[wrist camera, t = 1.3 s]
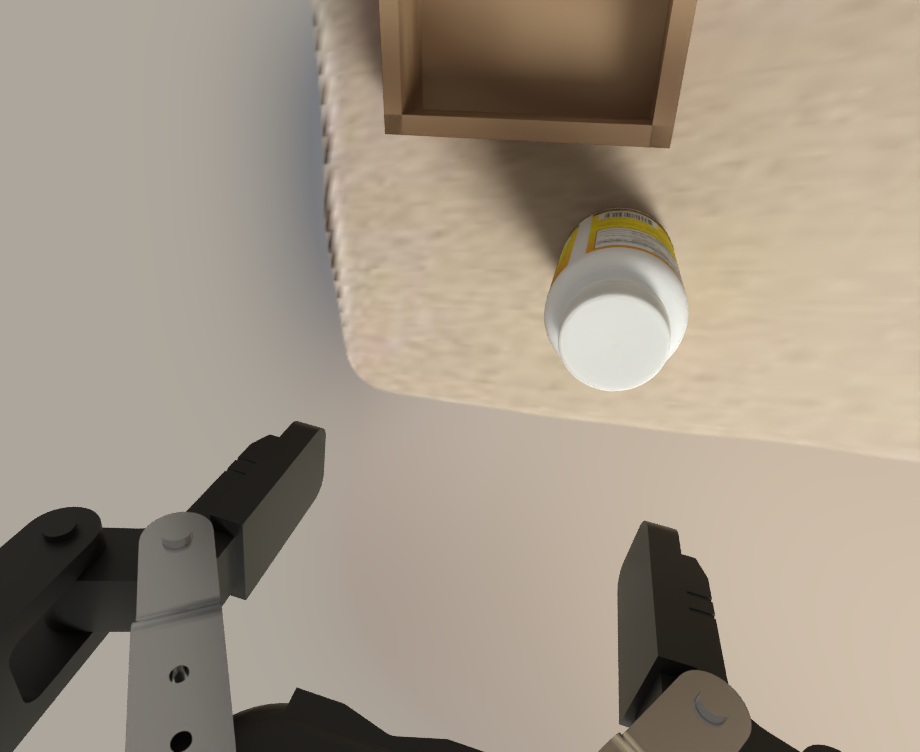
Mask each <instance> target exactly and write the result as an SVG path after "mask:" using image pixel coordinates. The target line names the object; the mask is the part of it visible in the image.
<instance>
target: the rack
mask: <svg viewBox="0 0 920 752" xmlns="http://www.w3.org/2000/svg"><path fill="white" fill-rule="evenodd" d="M696 4H697V0H379V13H380V35H381V57H382V79H383V101H384V123H385V134H396V135H416V136H436V137H456V138H476V139H496V140H516V141H536V142H556V143H575V144H595V145H615V146H635V147H655V148H670V144H671V138H672V133H673V127H674V122H675V117H676V111H677V106H678V100H679V95H680V90H681V84H682V79H683V74H684V68H685V63H686V57H687V52H688V47H689V41H690V36H691V30H692V25H693V20H694V14H695V9H696Z"/></svg>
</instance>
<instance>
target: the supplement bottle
mask: <svg viewBox="0 0 920 752" xmlns="http://www.w3.org/2000/svg"><path fill="white" fill-rule="evenodd" d="M544 322H545V328H546V332H547V336H548V338H549V341H550V343H551V345H552V346H553V348H554V350H555V351H556V353H557V354H558V355H559V356H560V357H561V359H562V361H563V363H564V365H565V366H566V368H567V369H568V370H569V372H570V373H571V374H572V375H573V376H574V377H575V378H577V379H578V380H579V381H581V382H582V383H584V384H586V385H588V386H591V387H593V388H596V389H600V390H605V391H622V390H627V389H632V388H635V387H637V386H640V385H642V384H644V383H645V382H647V381H648V380H650V379H651V378H653V377H654V376H655V375H656V374H657V373H658V372H659V370H660V369H661V368H662V366H663V365H664V363H665V361H666V360H667V359H668V358H669V357H670V356H671V355H672V354H673V353H674V352H675V350H676V349H677V347H678V346H679V344H680V342H681V340H682V338H683V336H684V334H685V330H686V327H687V322H688V303H687V297H686V293H685V289H684V286H683V282H682V279H681V275H680V271H679V267H678V264H677V260H676V257H675V253H674V248H673V245H672V243H671V240H670V238H669V236H668V234H667V232H666V231H665V230H664V228H663V227H662V226H661V225H660V224H659V223H658V222H657V221H656V220H655V219H654V218H652V217H651V216H649V215H647V214H645V213H643V212H641V211H638V210H634V209H629V208H611V209H606V210H603V211H600V212H597V213H595V214H593V215H591V216H589V217H587V218H586V219H584V220H583V221H582V222H581V223H579V224H578V225H577V226H576V227H575V229H574V230H573V231H572V232H571V234H570V235H569V237H568V239H567V240H566V242H565V245H564V247H563V250H562V253H561V256H560V259H559V262H558V265H557V268H556V271H555V274H554V277H553V281H552V283H551V287H550V290H549V293H548V296H547V300H546V304H545V312H544Z"/></svg>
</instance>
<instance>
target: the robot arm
mask: <svg viewBox="0 0 920 752" xmlns="http://www.w3.org/2000/svg"><path fill="white" fill-rule="evenodd" d="M325 438H326V433H325V430H324V429H323V428H320V427H316V426H312V425H309V424H305V423H302V422H299V421H295V422H293V423H292V424H291V425H290V426H289V427H288V428H287V429H286V430H285V432H284V433H283V434H282V435H281V436H280V437H276V436H273V435H268V436H266V437H264V438H262V439H260V440H258V441H256V442H254V443H252V444H251V445H249V446H248V448H247V449H246V450H245V451H244V452H243V453H242V454H241V455H240V456H239V457H238V460H235V461H234V462H233V463H232V464H231V465H230V466H229V467H228V470H227V471H225V472H224V473H223V474H222V475H221V476H220V477H219V478H218V479H217V480H216V481H215V482H214V483H213V484H212V485H211V486H210V487H209V488H208V489H207V490H206V492H204V494H203V495H202V496H201V497H200V498H199V499H198V500H197V501H196V502H195V503H194V504H193V505H192V506H191V507H190V508H189V509H188V510H187V511H186V512H177V513H172V514H168V515H165V516H163V517H161V518H159V519H157V520H155V521H154V522H152V523H151V524H150V525H148V526H147V528H144V529H131V528H102V524H101V520H100V517H99V516H98V515H97V514H96V513H95V512H94V511H92V510H90V509H87V508H82V507H66V508H60V509H57V510H53V511H50V512H47V513H45V514H43V515H41V516H39V517H37V518H36V519H34V520H33V521H31V522H30V523H29V524H28V525H26V526H25V527H24V528H23V529H22V530H21V531H19V532H18V533H17V534H16V535H15V536H13V537H12V538H11V539H10V540H9V541H8V542H7V543H5V544H4V545H3V546H2V547H1V548H0V752H13V751H14V749H15V748H16V747H17V746H18V745H19V743H20V742H21V741H22V740H23V738H24V737H25V736H26V735H27V733H28V732H29V731H30V730H31V728H32V727H33V726H34V724H35V723H36V722H37V721H38V720H39V718H40V717H41V716H42V715H43V713H44V712H45V711H46V710H47V708H48V707H49V706H50V705H51V704H52V702H53V701H54V700H55V698H56V697H57V696H58V695H59V694H60V692H61V691H62V690H63V688H64V687H65V686H66V685H67V684H68V683H69V681H70V680H71V679H72V677H73V676H74V675H75V674H76V672H77V671H78V670H79V669H80V668H81V666H82V665H83V664H84V663H85V661H86V660H87V659H88V658H89V656H90V655H91V654H92V653H93V652H94V650H95V649H96V648H97V646H98V645H99V644H100V642H102V640H103V639H104V638H105V637H106V635H107V634H108V633H109V632H131V633H130V655H129V676H128V700H127V722H126V723H127V724H126V746H125V747H126V748H125V752H483V751H480V750H477V749H474V748H471V747H468V746H466V745H463V744H460V743H457V742H454V741H451V740H448V739H433V738H416V737H397V736H392V735H389V734H387V733H385V732H384V731H383V730H381V729H380V728H378V727H377V726H375V725H374V724H373V723H371V722H370V721H368V720H367V719H365V718H364V717H362V716H361V715H360V714H358V713H357V712H355V711H354V710H352V709H351V708H350V707H348V706H347V705H345V704H343V703H340V702H337V701H334V700H331V699H329V698H326V697H323V696H320V695H316V694H314V693H311V692H308V691H305V690H302V689H299V688H296V690H295V692H294V694H293V696H292V698H291V700H290V702H289V703H278V704H267V705H263V706H257V707H253V708H250V709H247V710H244V711H241V712H239V713H237V714H234V715H233V714H232V704H231V695H230V684H229V674H228V664H227V654H226V644H225V635H224V625H223V615H222V606H223V604H224V603H225V601H226V600H227V599H228V597H229V596H230V595H231V596H235V597H238V598H241V599H244V600H246V599H247V598H248V596H249V595H250V594H251V592H252V591H253V589H254V588H255V586H256V585H257V583H258V582H259V580H260V579H261V577H262V576H263V575H264V573H265V572H266V570H267V569H268V567H269V566H270V564H271V563H272V561H273V560H274V558H275V557H276V556H277V554H278V552H279V551H280V550H281V548H282V547H283V545H284V544H285V542H286V541H287V540H288V538H289V537H290V535H291V534H292V532H293V531H294V529H295V528H296V526H297V525H298V523H299V522H300V520H301V519H302V518H303V516H304V515H305V513H306V512H307V510H308V509H309V507H310V506H311V504H312V503H313V502H314V500H315V498H316V497H317V495H318V493H319V490H320V487H321V485H322V481H323V475H324V458H325ZM711 599H712V597H711V592H710V587H709V581H708V578H707V576H706V575H705V573H704V571H703V570H702V568H701V566H700V565H699V563H698V562H697V560H696V559H695V558H693V557H689V556H686V555H682V554H681V549H680V542H679V535H678V532H677V530H675V529H672V528H669V527H665V526H661V525H658V524H655V523H651V522H647V521H643V522H642V524H641V525H640V528H639V529H638V532H637V534H636V536H635V538H634V540H633V543H632V545H631V547H630V549H629V552H628V554H627V556H626V558H625V560H624V563H623V565H622V568H621V571H620V575H619V581H618V663H619V664H618V667H619V724H620V725H623V726H626V727H629V729H628V730H626V731H625V732H624V733H623V734H622V735H621V734H620V733H618V734H616V735H615V736H614V737H613V738H612V739H610V740H609V741H608V742H607V743H606V744H605V745H604V746H603V747H602V748H601V749H600V750H599V752H799V751H798V750H796V749H795V748H793V747H791V746H790V745H788V744H787V743H785V742H783V741H782V740H780V739H778V738H777V737H775V736H774V735H772V734H770V733H769V732H767V731H766V730H765V729H763V728H762V727H760V726H759V725H758V724H757V723H755V722H754V721H753V720H752V719H751V718H750V714H749V711H748V709H747V707H746V705H745V703H744V702H743V700H742V699H741V697H740V696H739V695H738V693H737V692H736V691H735V690H734V689H733V688H732V687H731V686H730V685H729V684H728V681H727V676H726V671H725V666H724V660H723V655H722V650H721V645H720V639H719V634H718V629H717V623H716V619H714V616H715V613H714V608H713V603H712V602H711ZM803 752H841V751H839V750H837V749H835V748H832V747H829V746H825V745H812V746H809V747H807V748H806V749H805V750H804V751H803Z"/></svg>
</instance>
